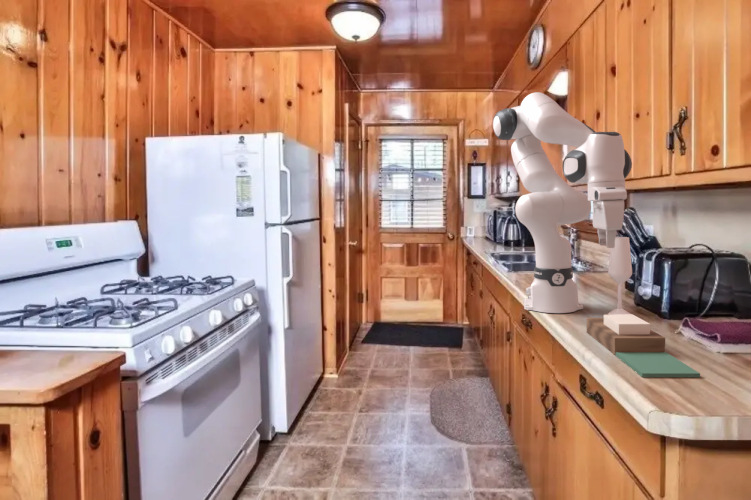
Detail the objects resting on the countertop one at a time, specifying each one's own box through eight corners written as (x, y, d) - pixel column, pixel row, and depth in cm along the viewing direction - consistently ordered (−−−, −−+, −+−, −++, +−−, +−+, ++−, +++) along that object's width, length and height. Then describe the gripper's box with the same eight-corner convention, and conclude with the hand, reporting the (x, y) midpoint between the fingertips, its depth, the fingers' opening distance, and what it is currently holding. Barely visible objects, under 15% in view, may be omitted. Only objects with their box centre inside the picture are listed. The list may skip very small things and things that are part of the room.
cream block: (603, 324, 124) (603, 314, 124) (632, 323, 124) (632, 314, 123) (618, 334, 114) (618, 324, 114) (650, 334, 114) (650, 323, 113)
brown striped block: (586, 332, 132) (586, 317, 131) (628, 331, 131) (629, 317, 130) (614, 354, 112) (614, 338, 112) (664, 354, 111) (665, 337, 110)
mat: (615, 355, 112) (615, 352, 112) (665, 355, 110) (666, 352, 110) (642, 377, 98) (642, 373, 98) (700, 377, 97) (700, 373, 96)
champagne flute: (602, 313, 153) (603, 237, 151) (618, 310, 155) (619, 236, 153) (620, 317, 147) (621, 238, 144) (636, 314, 149) (637, 237, 147)
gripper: (586, 195, 137) (587, 244, 138) (600, 193, 117) (600, 249, 118) (610, 194, 135) (611, 243, 136) (628, 191, 115) (629, 249, 116)
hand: (606, 246), depth 127 cm, fingers open, 8 cm apart
